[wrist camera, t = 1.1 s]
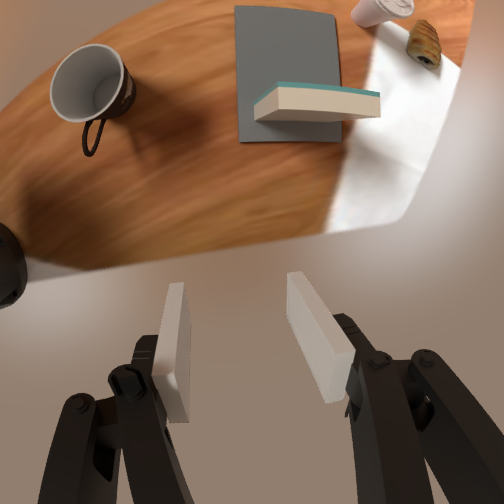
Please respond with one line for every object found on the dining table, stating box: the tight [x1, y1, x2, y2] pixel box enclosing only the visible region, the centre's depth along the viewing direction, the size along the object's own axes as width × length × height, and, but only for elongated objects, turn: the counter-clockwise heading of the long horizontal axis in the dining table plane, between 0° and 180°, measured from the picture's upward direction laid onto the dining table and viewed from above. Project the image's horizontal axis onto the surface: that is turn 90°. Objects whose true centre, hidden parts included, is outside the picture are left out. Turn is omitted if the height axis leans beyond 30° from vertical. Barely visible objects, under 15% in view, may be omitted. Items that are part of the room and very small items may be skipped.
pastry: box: [407, 20, 441, 69], centre depth 31 cm, size 9×7×4 cm
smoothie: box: [351, 0, 415, 28], centre depth 24 cm, size 6×6×14 cm
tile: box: [254, 82, 381, 122], centre depth 28 cm, size 10×2×13 cm, turn 92°
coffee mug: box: [50, 44, 136, 157], centre depth 26 cm, size 12×9×10 cm
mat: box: [235, 6, 342, 143], centre depth 32 cm, size 14×20×1 cm
